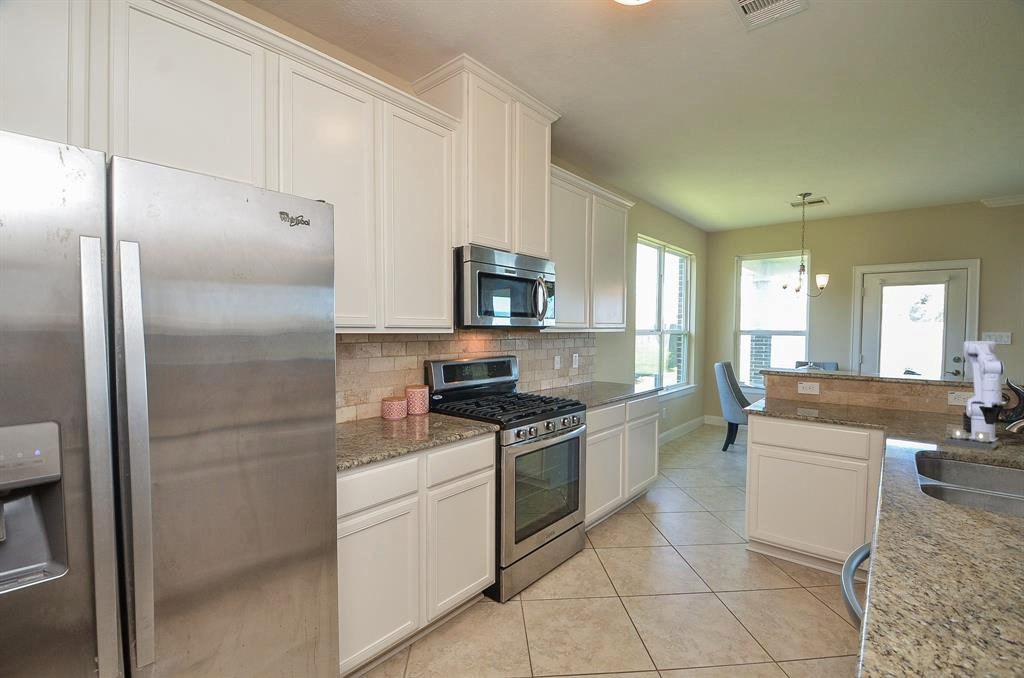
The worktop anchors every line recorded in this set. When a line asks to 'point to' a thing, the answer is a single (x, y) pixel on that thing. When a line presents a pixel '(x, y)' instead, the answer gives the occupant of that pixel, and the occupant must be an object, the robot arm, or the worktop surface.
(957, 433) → the billet
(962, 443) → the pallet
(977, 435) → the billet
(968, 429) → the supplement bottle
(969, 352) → the robot arm
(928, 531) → the worktop surface
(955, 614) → the worktop surface
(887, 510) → the worktop surface
